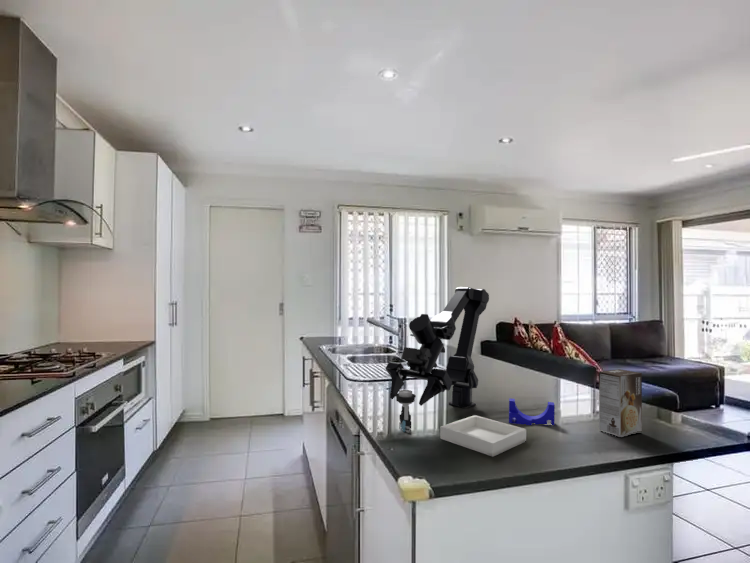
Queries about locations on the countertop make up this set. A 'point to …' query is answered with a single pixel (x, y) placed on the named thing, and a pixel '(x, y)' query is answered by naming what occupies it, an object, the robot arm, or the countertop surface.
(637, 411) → the coffee box
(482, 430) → the tray
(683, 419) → the countertop surface
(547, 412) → the blue u-shaped cradle
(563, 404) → the countertop surface
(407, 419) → the push button
